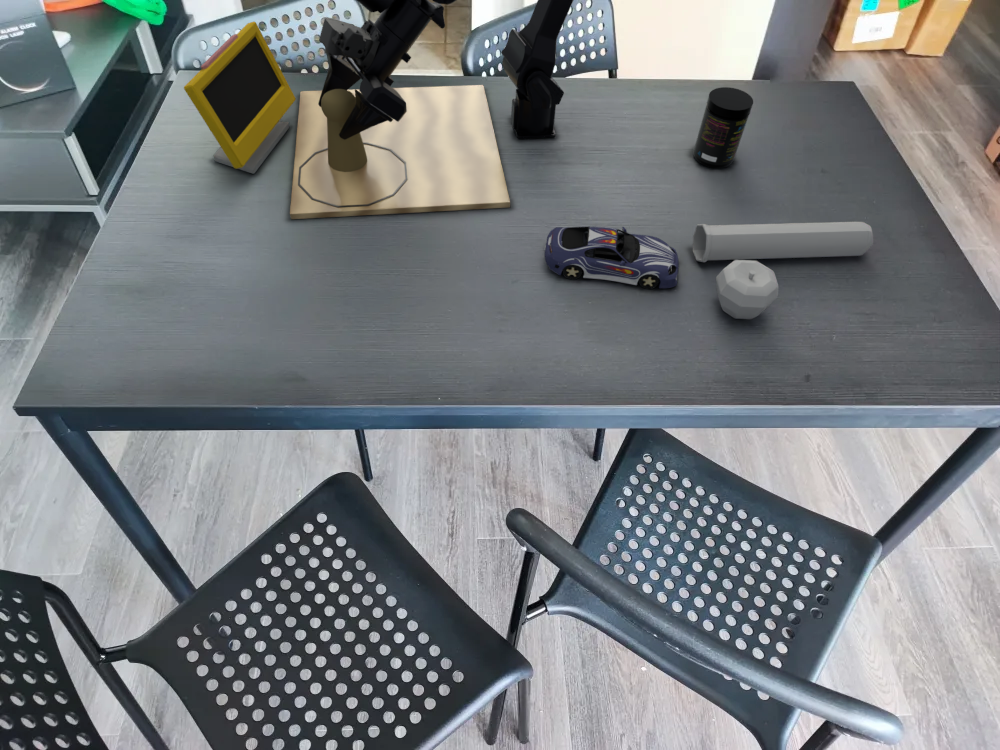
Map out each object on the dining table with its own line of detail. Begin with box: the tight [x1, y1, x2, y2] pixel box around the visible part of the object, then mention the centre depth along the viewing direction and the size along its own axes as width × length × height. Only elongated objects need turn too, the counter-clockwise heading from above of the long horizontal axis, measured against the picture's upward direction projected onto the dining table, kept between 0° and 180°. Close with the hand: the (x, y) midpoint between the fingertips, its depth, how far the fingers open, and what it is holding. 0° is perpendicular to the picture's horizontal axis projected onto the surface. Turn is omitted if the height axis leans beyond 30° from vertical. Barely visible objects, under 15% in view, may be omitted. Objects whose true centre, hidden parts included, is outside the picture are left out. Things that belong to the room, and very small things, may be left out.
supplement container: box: [692, 86, 754, 169], centre depth 111 cm, size 7×7×10 cm
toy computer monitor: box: [183, 21, 297, 174], centre depth 106 cm, size 20×8×16 cm, turn 168°
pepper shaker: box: [321, 89, 367, 172], centre depth 105 cm, size 6×6×11 cm
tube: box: [692, 221, 875, 263], centre depth 99 cm, size 5×5×25 cm
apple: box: [715, 259, 779, 320], centre depth 90 cm, size 8×8×7 cm
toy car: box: [543, 225, 680, 290], centre depth 96 cm, size 8×18×5 cm, turn 82°
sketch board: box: [289, 84, 511, 220], centre depth 113 cm, size 32×34×1 cm
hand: (331, 121), depth 103 cm, fingers open, 9 cm apart
